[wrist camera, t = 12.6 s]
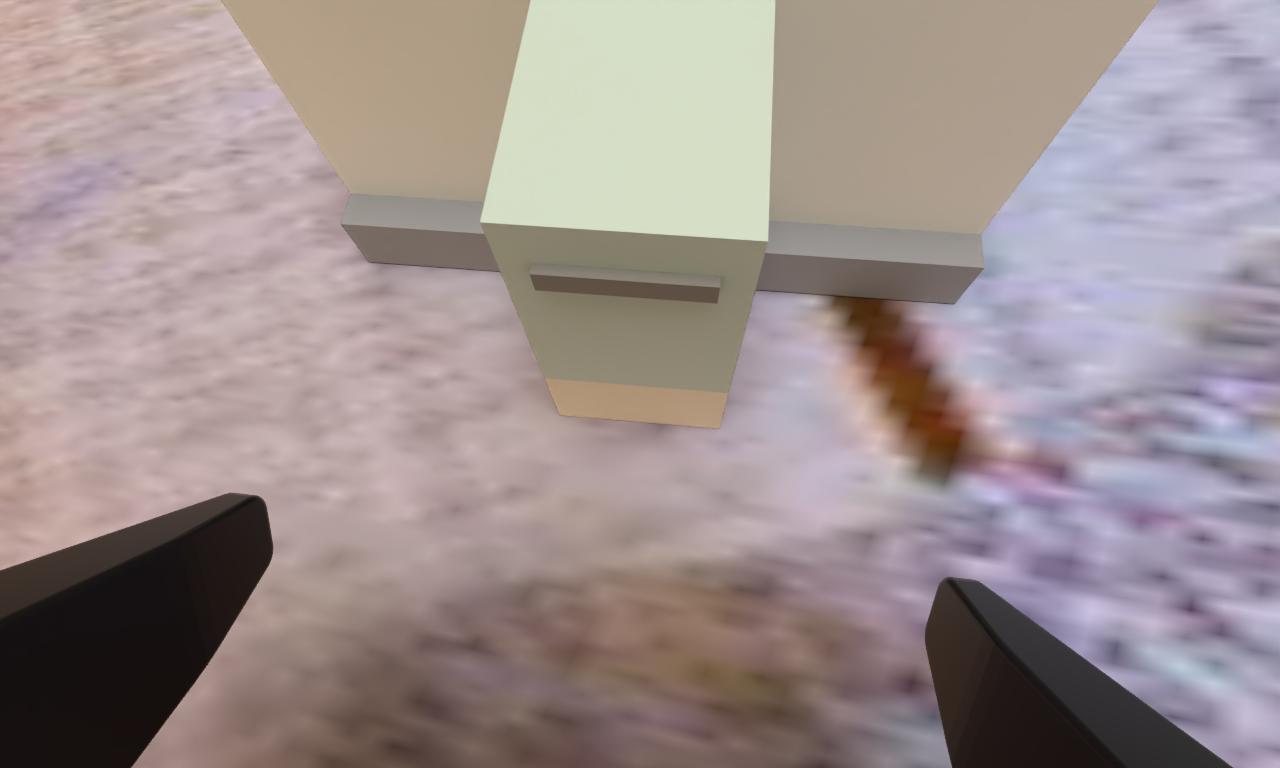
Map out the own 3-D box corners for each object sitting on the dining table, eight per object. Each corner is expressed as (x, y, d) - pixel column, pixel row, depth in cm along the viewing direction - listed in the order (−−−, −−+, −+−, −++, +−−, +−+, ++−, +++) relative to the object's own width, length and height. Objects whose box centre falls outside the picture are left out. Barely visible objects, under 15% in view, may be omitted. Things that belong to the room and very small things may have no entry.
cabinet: (718, 436, 20) (767, 254, 11) (558, 422, 21) (477, 233, 11) (728, 263, 23) (775, -5, 13) (584, 253, 23) (534, -16, 14)
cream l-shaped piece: (954, 303, 22) (1258, -60, 11) (368, 262, 23) (100, -101, 12) (933, 74, 26) (1141, -369, 15) (432, 48, 27) (272, -376, 16)
